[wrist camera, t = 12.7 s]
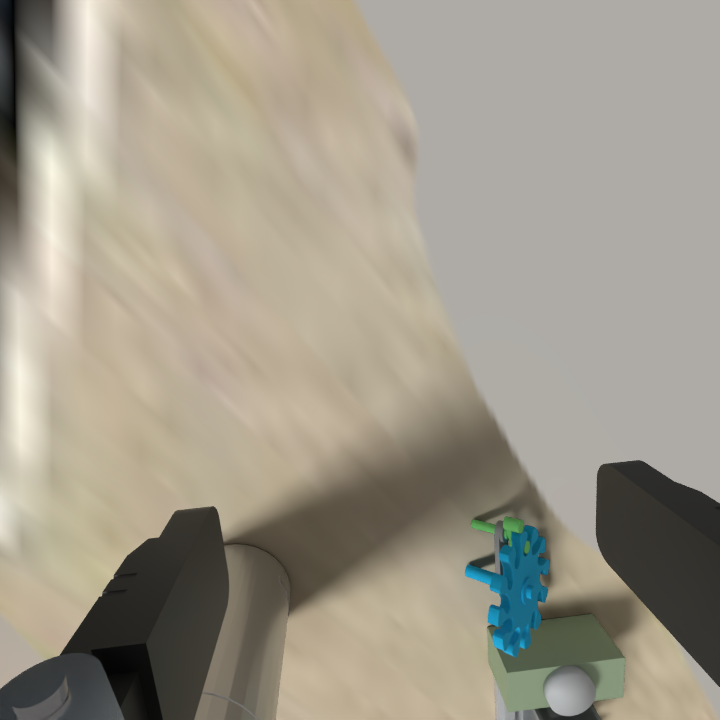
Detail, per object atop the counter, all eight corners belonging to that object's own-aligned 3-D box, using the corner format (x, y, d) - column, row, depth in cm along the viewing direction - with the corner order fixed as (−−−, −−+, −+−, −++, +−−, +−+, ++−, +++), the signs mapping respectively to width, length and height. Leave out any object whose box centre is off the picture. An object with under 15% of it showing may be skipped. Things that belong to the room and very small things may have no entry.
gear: (557, 620, 42) (508, 689, 35) (495, 598, 46) (439, 654, 39) (554, 500, 42) (503, 544, 34) (491, 487, 46) (433, 524, 38)
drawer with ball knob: (491, 741, 47) (514, 810, 41) (487, 627, 44) (511, 683, 38) (590, 728, 47) (627, 794, 41) (592, 613, 44) (632, 667, 39)
